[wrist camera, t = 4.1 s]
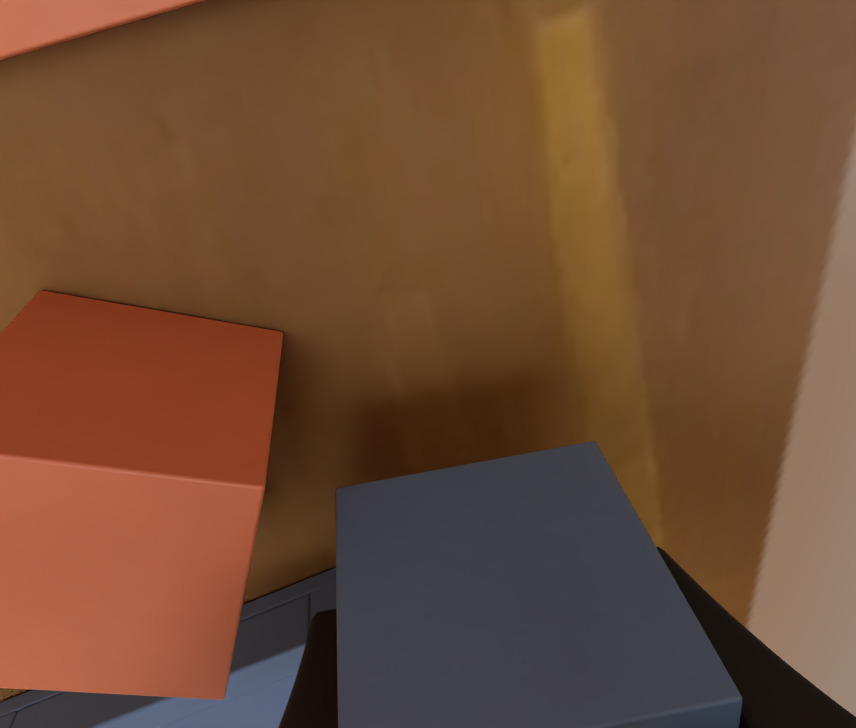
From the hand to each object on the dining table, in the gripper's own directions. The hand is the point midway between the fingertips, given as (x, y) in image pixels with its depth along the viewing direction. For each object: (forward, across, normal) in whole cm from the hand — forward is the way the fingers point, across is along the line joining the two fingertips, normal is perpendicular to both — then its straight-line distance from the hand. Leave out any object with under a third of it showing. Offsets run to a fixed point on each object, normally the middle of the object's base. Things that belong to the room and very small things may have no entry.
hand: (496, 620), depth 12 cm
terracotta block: (+5, +6, -2) cm, 8 cm away
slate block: (+1, 0, 0) cm, 1 cm away
